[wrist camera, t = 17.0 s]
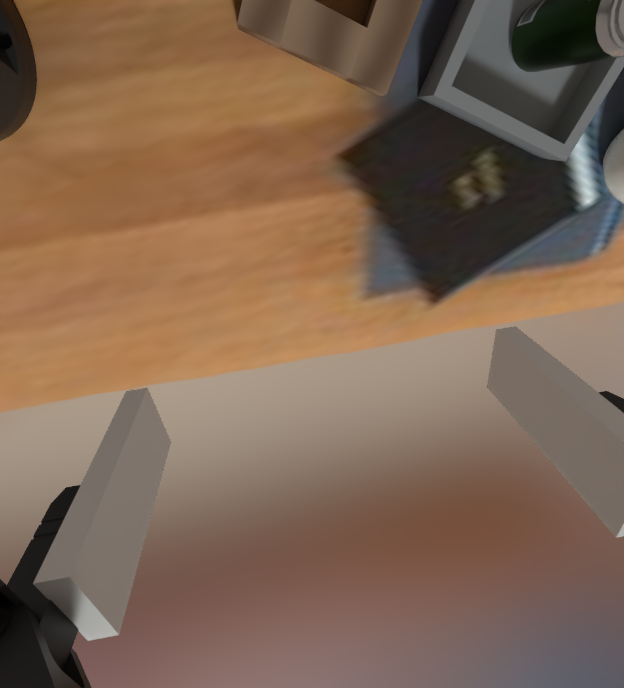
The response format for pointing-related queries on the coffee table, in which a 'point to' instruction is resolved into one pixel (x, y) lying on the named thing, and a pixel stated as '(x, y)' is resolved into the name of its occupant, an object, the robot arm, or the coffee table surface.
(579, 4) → the beer can
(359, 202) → the coffee table surface
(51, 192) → the coffee table surface
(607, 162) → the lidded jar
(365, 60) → the socket block
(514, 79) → the bin
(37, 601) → the robot arm
